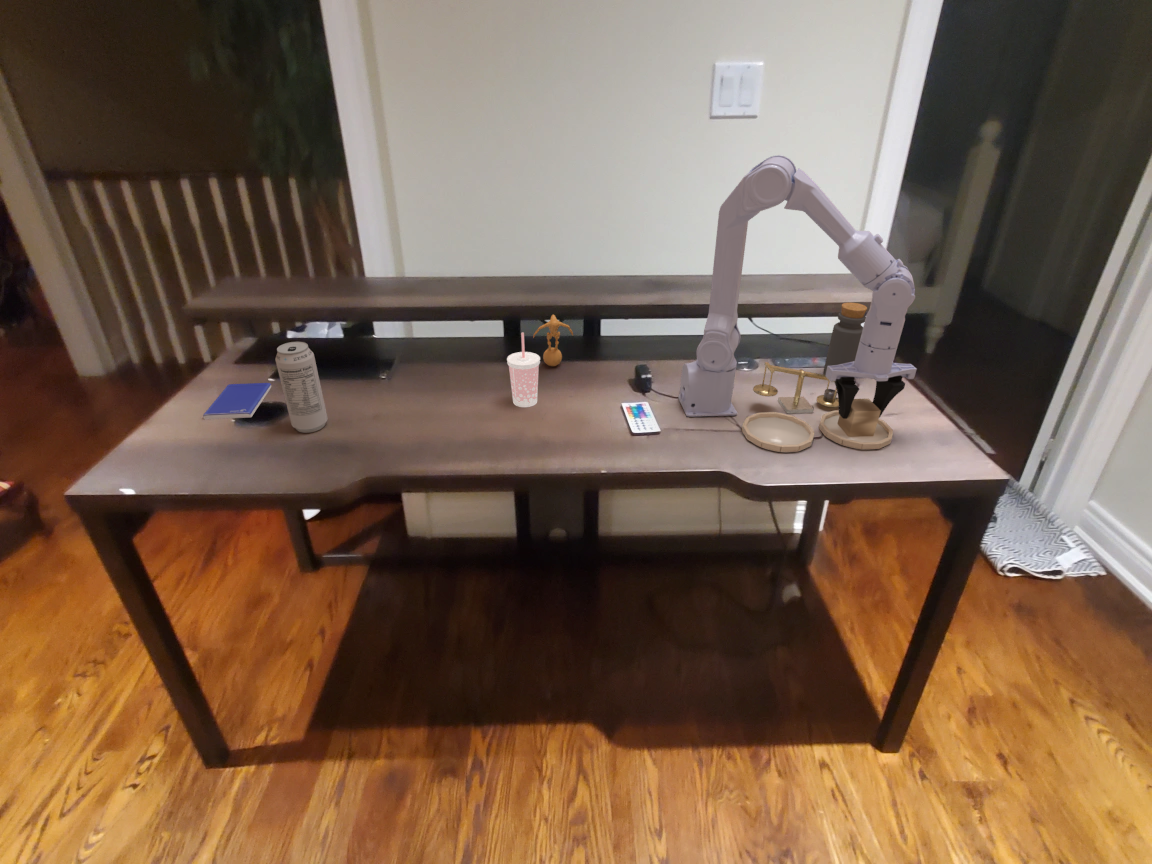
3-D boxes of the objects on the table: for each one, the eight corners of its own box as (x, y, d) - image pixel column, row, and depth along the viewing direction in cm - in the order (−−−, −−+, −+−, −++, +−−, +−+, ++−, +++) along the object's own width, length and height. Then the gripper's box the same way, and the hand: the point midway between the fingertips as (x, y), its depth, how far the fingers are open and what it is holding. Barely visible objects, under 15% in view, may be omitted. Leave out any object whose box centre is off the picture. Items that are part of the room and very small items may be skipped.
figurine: (570, 360, 138) (570, 307, 132) (574, 372, 133) (575, 317, 127) (532, 362, 137) (530, 309, 131) (535, 374, 132) (533, 319, 126)
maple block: (848, 436, 110) (855, 411, 108) (837, 423, 114) (843, 399, 112) (873, 436, 111) (880, 410, 108) (861, 423, 114) (868, 398, 112)
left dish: (754, 454, 106) (755, 447, 106) (734, 419, 116) (735, 413, 116) (823, 452, 107) (824, 445, 106) (797, 417, 117) (798, 411, 117)
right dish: (836, 451, 107) (837, 445, 107) (809, 417, 117) (810, 411, 117) (903, 449, 108) (905, 442, 107) (871, 415, 118) (872, 409, 117)
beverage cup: (547, 401, 122) (546, 332, 115) (524, 412, 118) (521, 342, 111) (525, 391, 125) (523, 323, 118) (502, 401, 122) (498, 332, 114)
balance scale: (755, 414, 118) (762, 372, 114) (746, 401, 122) (753, 360, 118) (844, 411, 119) (855, 369, 115) (833, 399, 123) (843, 358, 119)
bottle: (854, 382, 130) (873, 312, 122) (824, 380, 131) (840, 310, 123) (850, 370, 135) (867, 302, 127) (821, 368, 136) (836, 300, 128)
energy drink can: (331, 416, 116) (314, 339, 109) (325, 432, 111) (308, 353, 103) (296, 418, 115) (277, 341, 108) (289, 435, 110) (268, 355, 103)
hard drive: (249, 412, 115) (270, 382, 126) (202, 414, 114) (227, 383, 125) (252, 419, 116) (272, 389, 127) (204, 421, 115) (229, 391, 126)
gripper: (846, 353, 100) (828, 428, 107) (935, 351, 101) (911, 425, 108) (827, 336, 106) (811, 408, 113) (911, 334, 107) (890, 405, 114)
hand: (859, 415), depth 111 cm, fingers open, 5 cm apart
